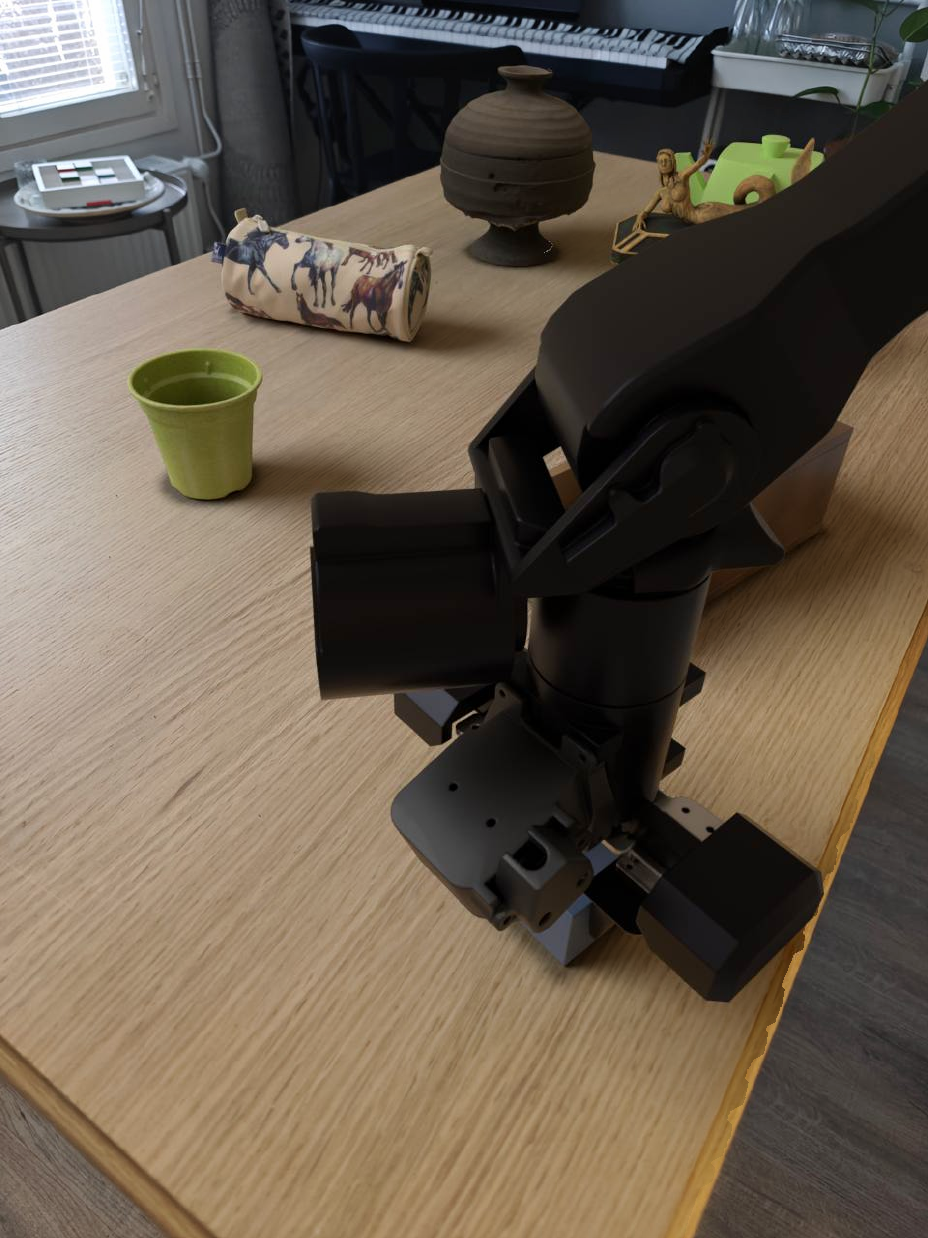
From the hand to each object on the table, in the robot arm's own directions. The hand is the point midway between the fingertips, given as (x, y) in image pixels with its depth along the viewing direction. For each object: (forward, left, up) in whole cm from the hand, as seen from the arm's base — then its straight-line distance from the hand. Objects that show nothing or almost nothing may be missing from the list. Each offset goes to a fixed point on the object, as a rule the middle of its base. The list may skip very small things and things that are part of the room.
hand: (565, 899), depth 43 cm
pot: (+68, -60, -1) cm, 91 cm away
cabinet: (+16, -30, -1) cm, 34 cm away
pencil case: (+63, -30, -1) cm, 70 cm away
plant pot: (+44, -6, -1) cm, 44 cm away
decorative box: (+36, -56, -1) cm, 67 cm away
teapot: (+52, -83, -1) cm, 98 cm away
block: (0, 0, -1) cm, 1 cm away
